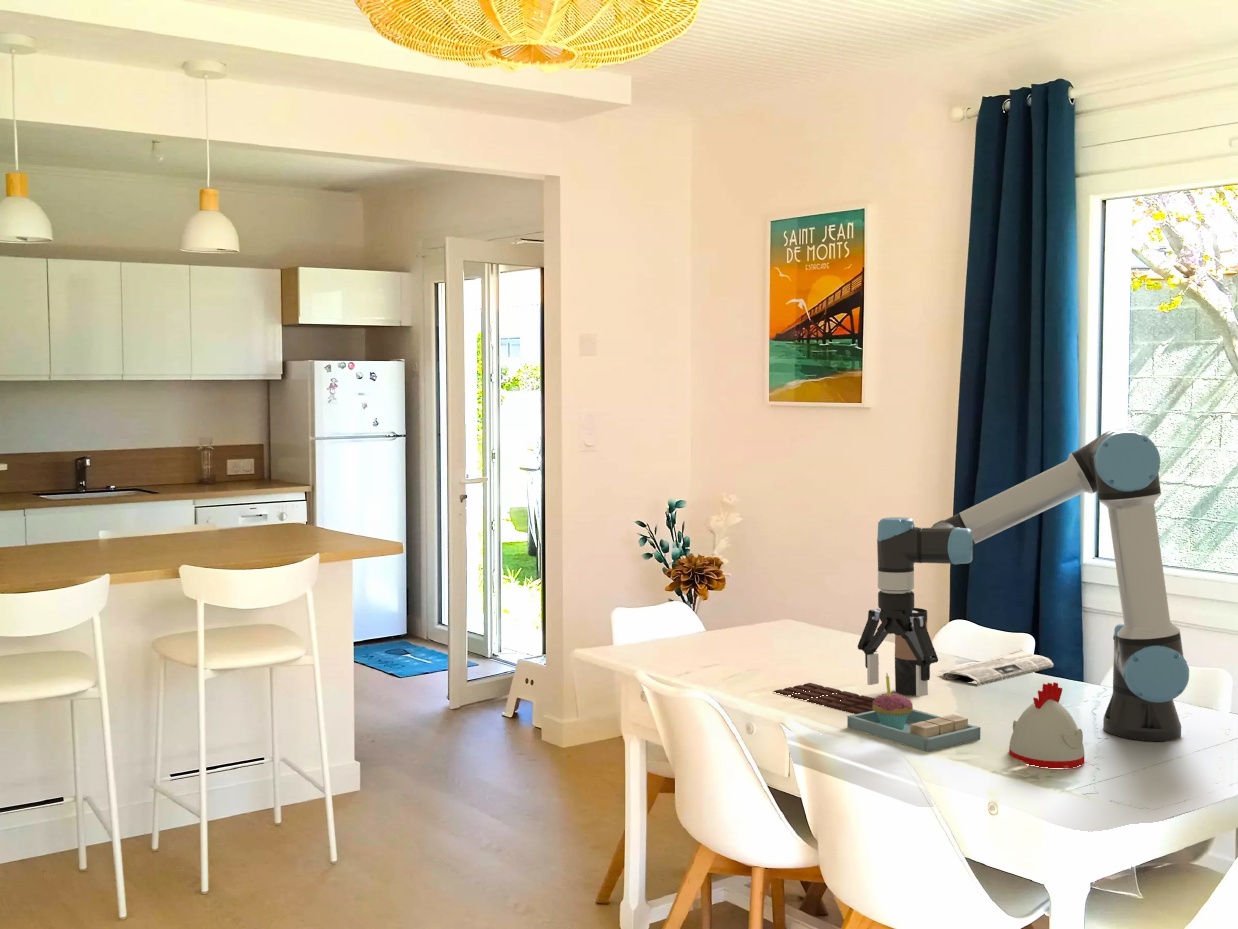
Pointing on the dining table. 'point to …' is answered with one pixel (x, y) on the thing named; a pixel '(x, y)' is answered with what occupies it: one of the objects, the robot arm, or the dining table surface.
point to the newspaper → (1000, 667)
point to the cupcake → (892, 708)
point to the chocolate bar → (830, 697)
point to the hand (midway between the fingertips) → (897, 689)
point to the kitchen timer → (1047, 733)
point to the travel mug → (906, 662)
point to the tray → (872, 726)
